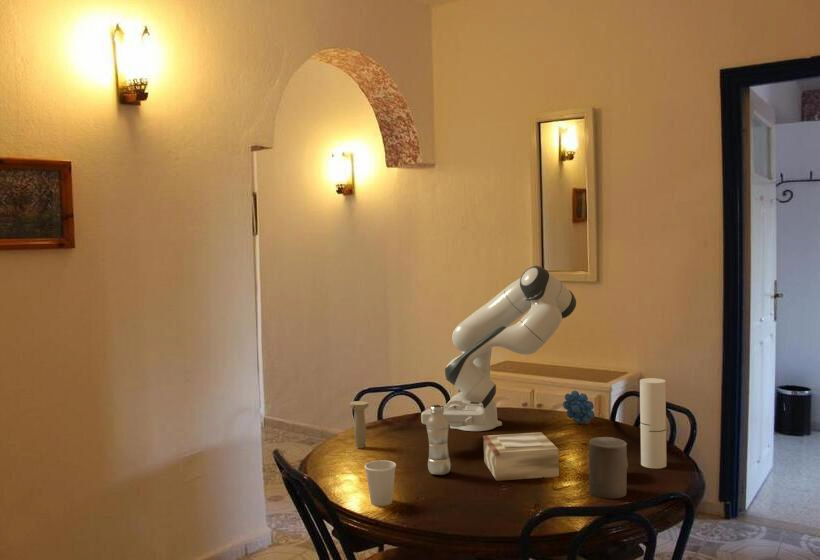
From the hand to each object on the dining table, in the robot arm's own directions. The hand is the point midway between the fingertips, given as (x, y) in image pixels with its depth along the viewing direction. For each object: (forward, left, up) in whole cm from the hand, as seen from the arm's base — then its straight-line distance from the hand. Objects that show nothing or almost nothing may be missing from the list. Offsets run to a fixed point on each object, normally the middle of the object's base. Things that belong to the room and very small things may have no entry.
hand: (449, 423), depth 231 cm
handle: (-21, -27, -12) cm, 36 cm away
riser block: (+11, +19, -12) cm, 25 cm away
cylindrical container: (+15, +58, -12) cm, 61 cm away
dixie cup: (+31, -23, -12) cm, 40 cm away
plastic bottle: (+11, -5, -12) cm, 17 cm away
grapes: (-34, +51, -12) cm, 63 cm away
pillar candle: (+35, +37, -12) cm, 52 cm away
